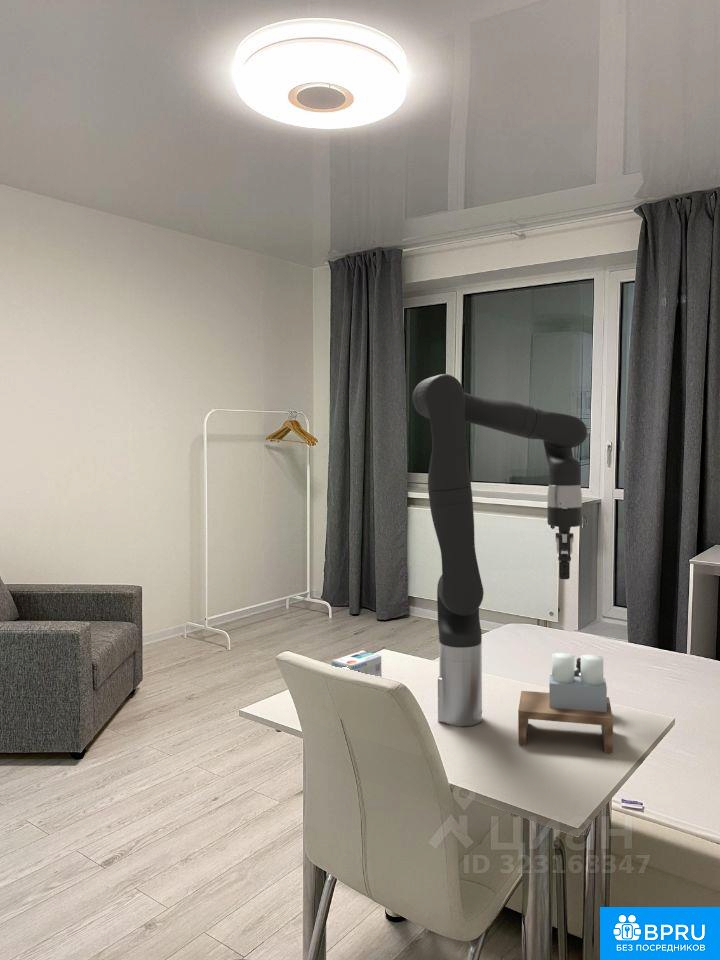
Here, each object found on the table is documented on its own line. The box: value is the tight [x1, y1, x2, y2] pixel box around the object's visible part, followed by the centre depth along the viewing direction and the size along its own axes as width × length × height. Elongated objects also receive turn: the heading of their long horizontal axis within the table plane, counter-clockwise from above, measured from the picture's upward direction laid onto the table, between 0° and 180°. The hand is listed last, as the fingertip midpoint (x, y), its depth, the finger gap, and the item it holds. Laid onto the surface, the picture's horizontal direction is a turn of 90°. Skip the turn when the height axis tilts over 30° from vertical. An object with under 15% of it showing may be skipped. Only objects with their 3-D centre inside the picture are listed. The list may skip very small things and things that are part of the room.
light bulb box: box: [331, 650, 383, 677], centre depth 173 cm, size 11×7×11 cm, turn 136°
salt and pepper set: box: [548, 652, 608, 712], centre depth 150 cm, size 11×6×10 cm, turn 75°
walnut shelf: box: [517, 690, 614, 754], centre depth 151 cm, size 18×12×7 cm, turn 75°
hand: (564, 575), depth 168 cm, fingers open, 8 cm apart
